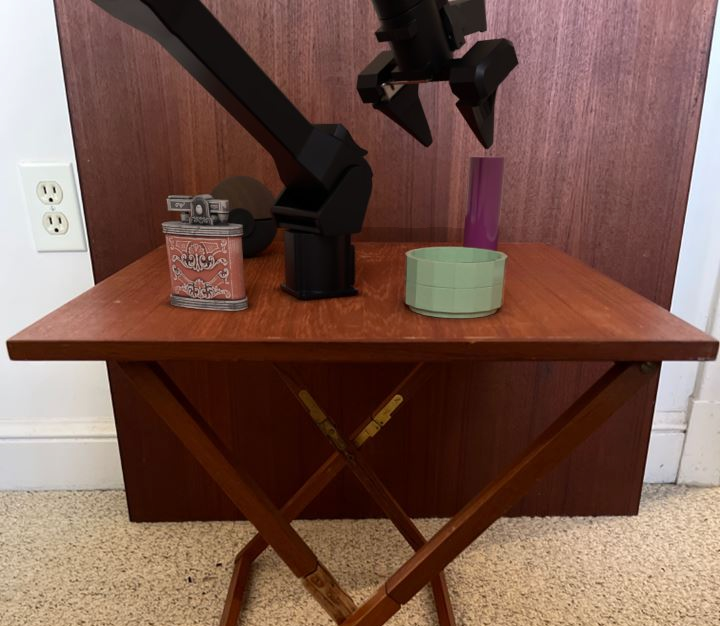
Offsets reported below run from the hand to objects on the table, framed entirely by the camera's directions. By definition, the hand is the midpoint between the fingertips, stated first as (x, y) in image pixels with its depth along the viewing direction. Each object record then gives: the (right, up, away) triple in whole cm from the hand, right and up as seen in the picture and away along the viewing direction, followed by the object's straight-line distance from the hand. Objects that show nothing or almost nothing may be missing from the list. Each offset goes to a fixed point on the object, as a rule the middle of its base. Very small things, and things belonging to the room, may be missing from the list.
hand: (458, 145), depth 79 cm
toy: (-27, -8, +15) cm, 31 cm away
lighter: (-26, -21, -11) cm, 35 cm away
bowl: (-2, -21, -11) cm, 24 cm away
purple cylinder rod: (+4, -10, +11) cm, 16 cm away
